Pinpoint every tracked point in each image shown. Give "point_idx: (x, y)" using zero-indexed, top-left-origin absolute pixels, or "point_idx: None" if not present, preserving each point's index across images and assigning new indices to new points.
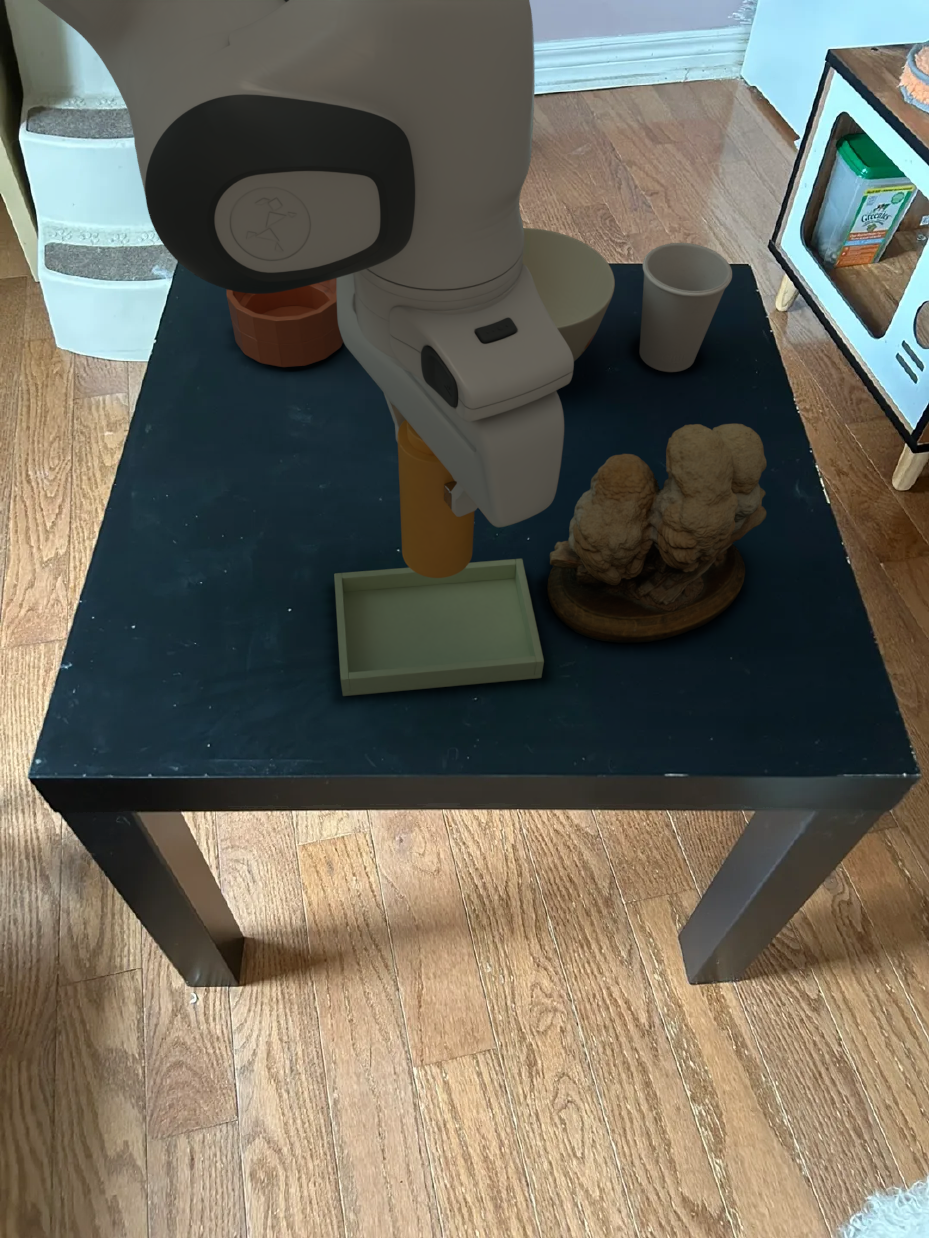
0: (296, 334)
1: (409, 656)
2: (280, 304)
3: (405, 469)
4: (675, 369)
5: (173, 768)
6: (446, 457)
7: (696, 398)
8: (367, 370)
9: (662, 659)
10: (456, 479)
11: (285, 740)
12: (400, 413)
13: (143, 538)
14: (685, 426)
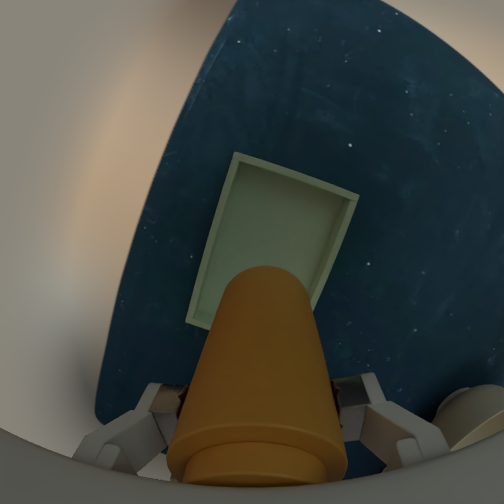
0: None
1: (249, 223)
2: None
3: (238, 382)
4: (385, 469)
5: (230, 17)
6: (55, 488)
7: (360, 471)
8: (494, 446)
9: (179, 382)
10: (39, 455)
11: (216, 95)
12: (386, 428)
13: (460, 77)
14: None
